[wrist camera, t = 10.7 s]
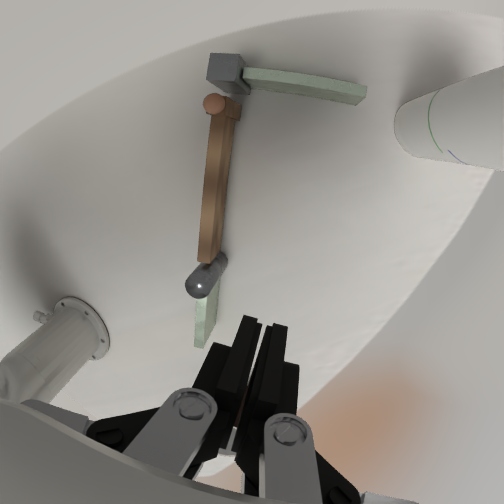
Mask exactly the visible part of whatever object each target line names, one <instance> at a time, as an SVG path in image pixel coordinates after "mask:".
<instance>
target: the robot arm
mask: <svg viewBox="0 0 504 504" xmlns="http://www.w3.org/2000/svg"><path fill="white" fill-rule="evenodd" d="M33 318H34V320H36V321H38V322H40V323H44V325H42V326H41V327H40V328H39V329H37V330H36V331H35V332H34V333H32V334H31V335H30V336H29V337H27V338H26V339H25V340H24V341H23V342H21V343H20V344H19V345H18V346H16V347H15V348H14V349H13V350H12V351H11V352H9V353H8V354H7V355H6V356H5V357H4V358H3V359H2V360H1V362H0V504H418V503H416V502H413V501H409V500H403V499H398V498H392V497H388V496H384V495H379V494H375V493H371V492H367V491H366V492H365V493H364V494H363V493H359V492H358V490H357V489H356V488H355V487H354V486H353V485H352V484H351V483H350V482H349V481H348V480H347V479H345V478H344V477H343V476H342V475H341V474H340V473H339V472H338V471H337V470H335V468H334V467H332V466H331V465H330V464H329V463H328V462H327V461H326V460H325V459H324V458H323V457H322V456H321V455H320V454H319V453H318V452H317V451H316V450H315V447H314V441H313V435H312V431H311V428H310V426H309V425H308V424H307V422H306V421H304V420H303V419H302V418H300V417H298V416H296V412H297V399H298V384H299V365H297V364H293V363H289V362H285V361H284V355H285V347H286V339H287V331H288V327H287V326H283V325H279V324H276V323H273V326H268V325H267V327H266V330H265V333H264V336H263V340H262V343H261V346H260V349H259V352H258V356H257V359H256V362H255V365H254V368H253V371H252V375H251V378H250V381H249V385H248V389H247V392H246V396H245V400H244V404H243V407H242V411H241V415H240V419H239V422H238V426H237V430H236V433H235V437H234V441H233V444H232V448H231V451H232V452H236V456H235V460H234V461H236V463H237V465H238V466H239V467H240V468H241V470H242V471H243V473H242V478H241V493H237V492H233V491H229V490H224V489H221V488H217V487H213V486H210V485H206V484H203V483H200V482H196V481H194V480H195V478H196V477H197V475H198V473H199V472H200V470H201V468H202V467H203V464H204V462H205V461H208V460H211V459H213V458H216V457H217V454H218V451H219V448H221V449H225V450H226V448H227V445H228V442H229V439H230V436H231V433H232V430H233V427H234V424H235V421H236V418H237V415H238V412H239V409H240V406H241V403H242V399H243V396H244V393H245V389H246V385H247V382H248V378H249V374H250V370H251V367H252V363H253V359H254V355H255V351H256V347H257V343H258V340H259V336H260V332H261V328H262V324H261V323H257V320H258V319H257V318H254V317H250V316H246V315H243V318H242V321H241V323H240V326H239V329H238V332H237V334H236V337H235V340H234V342H233V345H232V347H229V346H226V345H223V344H219V343H216V342H214V343H213V344H212V346H211V348H210V350H209V352H208V355H207V357H206V359H205V361H204V363H203V365H202V367H201V369H200V371H199V374H198V376H197V378H196V380H195V382H194V384H193V386H192V388H182V389H179V390H177V391H175V392H173V393H172V394H171V395H170V396H169V397H168V399H167V400H166V401H165V402H164V404H163V405H162V406H161V407H158V408H154V409H149V410H145V411H140V412H136V413H131V414H126V415H121V416H116V417H111V418H105V419H101V420H98V421H91V420H89V418H88V416H84V415H81V414H77V413H74V412H71V411H68V410H65V409H62V408H59V407H56V406H53V405H50V404H49V403H50V402H51V401H52V399H53V398H54V397H55V396H56V395H57V394H58V393H59V392H60V390H61V389H62V388H63V387H64V386H65V385H66V384H67V383H68V382H69V380H70V379H71V378H72V377H73V376H74V375H75V374H76V373H77V372H78V371H79V369H80V368H81V367H82V366H83V365H84V364H85V363H86V362H87V361H88V360H99V359H101V358H102V357H103V356H104V355H105V354H106V353H107V351H108V349H109V337H108V333H107V330H106V328H105V325H104V324H103V322H102V320H101V319H100V317H99V316H98V315H97V313H96V312H95V311H94V310H93V309H92V308H91V307H89V306H88V305H87V304H86V303H84V302H83V301H81V300H78V299H76V298H72V297H66V298H63V299H62V300H60V301H59V302H58V303H57V304H56V305H55V307H54V311H53V314H51V315H50V314H47V315H45V314H44V313H42V312H40V311H35V312H34V315H33Z"/></svg>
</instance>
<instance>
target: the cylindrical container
mask: <svg viewBox="0 0 504 504" xmlns="http://www.w3.org/2000/svg"><path fill="white" fill-rule="evenodd" d="M394 130H395V135H396V137H397V140H398V142H399V143H400V145H401V146H402V148H403V149H404V150H405V151H406V152H408V153H409V154H411V155H412V156H415V157H417V158H424V159H431V160H439V161H446V162H453V163H460V164H466V165H472V166H478V167H484V168H489V169H494V170H499V171H504V66H502V67H499V68H496V69H493V70H490V71H487V72H484V73H482V74H479V75H476V76H473V77H470V78H468V79H465V80H462V81H459V82H457V83H454V84H452V85H449V86H446V87H444V88H441V89H439V90H436V91H434V92H431V93H429V94H426V95H424V96H421V97H419V98H416V99H414V100H411V101H409V102H407V103H405V104H404V105H402V106H401V107H400V109H399V110H398V112H397V114H396V116H395V121H394Z"/></svg>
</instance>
